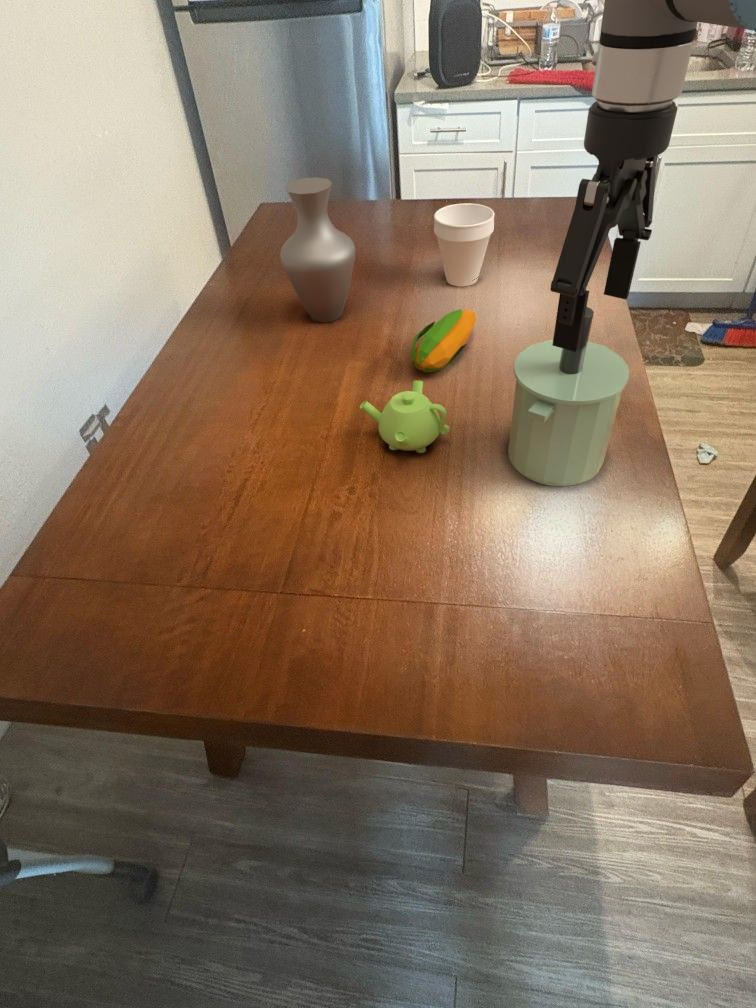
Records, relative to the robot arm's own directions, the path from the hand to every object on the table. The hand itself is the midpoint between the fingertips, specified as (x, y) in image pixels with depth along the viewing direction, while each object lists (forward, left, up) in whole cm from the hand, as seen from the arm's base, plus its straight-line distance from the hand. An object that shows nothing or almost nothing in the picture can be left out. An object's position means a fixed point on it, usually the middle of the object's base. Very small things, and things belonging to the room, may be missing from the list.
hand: (591, 320), depth 69 cm
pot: (+3, -4, -25) cm, 25 cm away
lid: (+3, -5, -10) cm, 12 cm away
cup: (+45, -47, -25) cm, 69 cm away
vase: (+61, -20, -25) cm, 69 cm away
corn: (+32, -19, -25) cm, 45 cm away
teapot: (+24, +4, -25) cm, 35 cm away
